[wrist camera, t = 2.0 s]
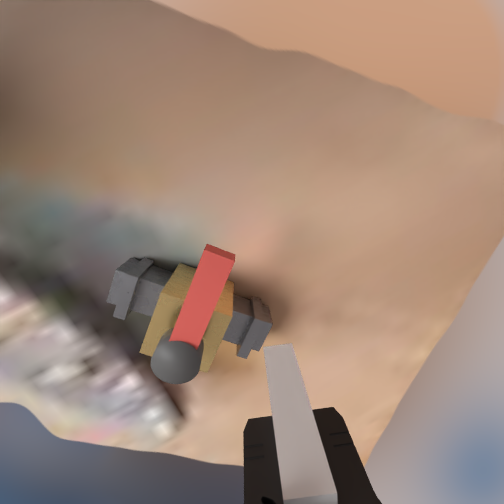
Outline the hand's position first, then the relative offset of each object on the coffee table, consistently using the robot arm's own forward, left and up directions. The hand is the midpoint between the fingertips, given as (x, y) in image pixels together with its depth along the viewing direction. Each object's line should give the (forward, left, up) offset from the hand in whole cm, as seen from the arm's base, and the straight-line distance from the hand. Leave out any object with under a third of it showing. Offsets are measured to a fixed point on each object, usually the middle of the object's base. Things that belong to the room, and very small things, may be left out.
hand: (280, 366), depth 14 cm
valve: (0, -9, -19) cm, 21 cm away
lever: (-2, -6, -9) cm, 11 cm away
